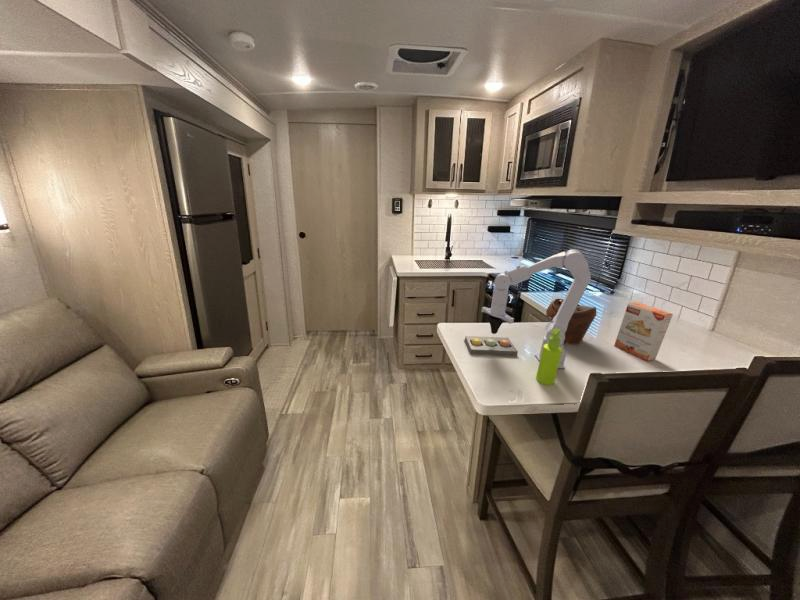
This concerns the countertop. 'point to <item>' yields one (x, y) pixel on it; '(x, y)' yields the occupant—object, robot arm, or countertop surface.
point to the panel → (490, 347)
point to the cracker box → (642, 330)
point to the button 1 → (476, 341)
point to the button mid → (490, 342)
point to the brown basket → (574, 320)
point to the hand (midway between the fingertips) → (494, 333)
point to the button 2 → (504, 343)
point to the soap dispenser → (550, 359)
